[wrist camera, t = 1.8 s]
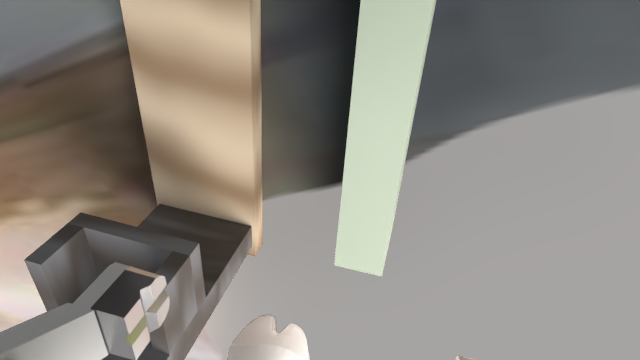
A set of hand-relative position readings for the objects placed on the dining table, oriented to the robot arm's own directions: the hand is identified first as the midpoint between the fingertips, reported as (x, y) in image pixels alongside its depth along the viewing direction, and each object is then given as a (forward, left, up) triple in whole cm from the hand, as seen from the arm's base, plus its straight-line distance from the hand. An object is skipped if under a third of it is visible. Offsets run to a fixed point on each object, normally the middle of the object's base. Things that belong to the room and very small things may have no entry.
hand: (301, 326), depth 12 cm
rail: (0, 0, -17) cm, 17 cm away
